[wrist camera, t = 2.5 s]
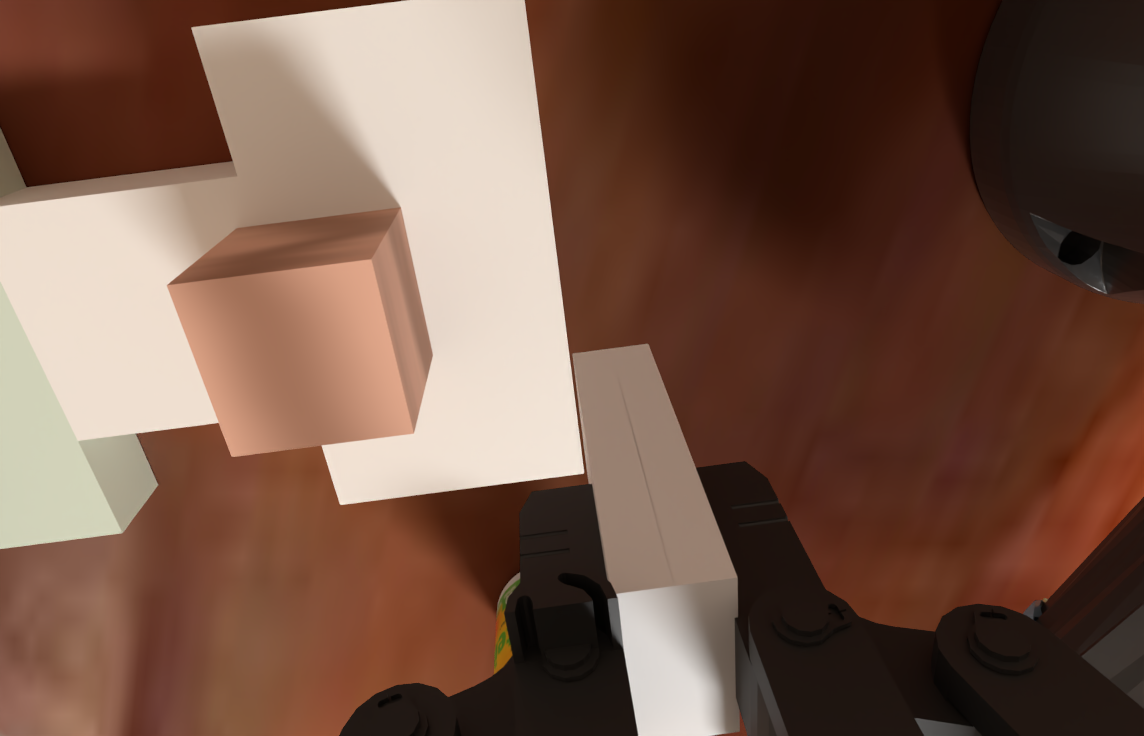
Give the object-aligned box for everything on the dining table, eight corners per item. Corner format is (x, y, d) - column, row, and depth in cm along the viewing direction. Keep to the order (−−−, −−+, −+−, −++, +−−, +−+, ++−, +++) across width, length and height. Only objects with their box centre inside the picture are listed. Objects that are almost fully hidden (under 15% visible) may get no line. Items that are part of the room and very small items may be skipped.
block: (400, 207, 23) (371, 258, 18) (433, 354, 25) (414, 433, 20) (236, 227, 22) (166, 285, 18) (283, 374, 25) (231, 456, 20)
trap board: (522, -13, 23) (523, -16, 18) (578, 430, 30) (590, 515, 25) (-261, 85, 23) (-478, 109, 18) (-16, 507, 30) (-122, 607, 25)
